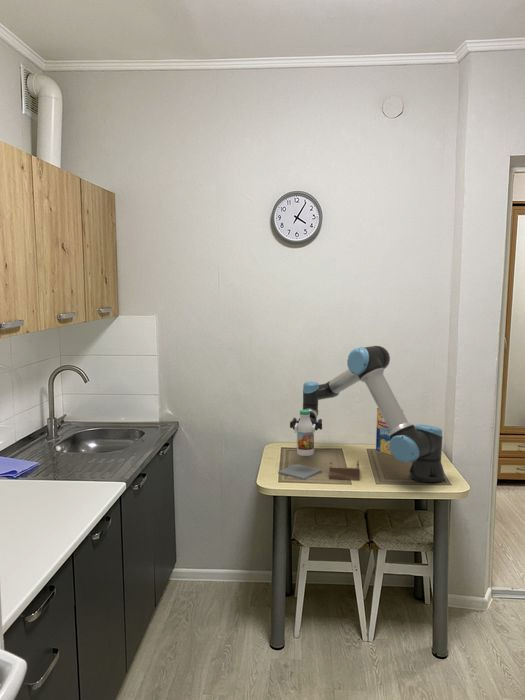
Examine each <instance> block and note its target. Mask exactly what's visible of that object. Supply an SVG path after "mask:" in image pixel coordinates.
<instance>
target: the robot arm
mask: <svg viewBox="0 0 525 700" xmlns="http://www.w3.org/2000/svg"><path fill="white" fill-rule="evenodd" d="M390 360H391V356H390V353H389V351H388V350H387V349H386V348H384V347H383V346H381V345H371V346H364V347H363V346H360V347H357V348H354V349H352V350H351V351H350V352H349V354H348V355H347V360H346V361H347V362H346V364H347V368H348V369H347V370H344V371H343V372H342V373H340V374H339V375H337V376H335V377H333V378H332V379H330V380H328V381H327V382H325V383H322V384H320V383H319V382H317V381H305V382H304V383H303V385H302V387H303V388H302V410H310V420H311V422H312V425H313V434H314V435H315V433H316V431H318V430H323V419H322V418H319V419H317V418H318V415H319V400H326V399H331V398H332V399H333V398H335V397H337V396H339V395H340V393H341V392H342V391H345V390H346V389H349V387H351V386H353V385H354V384H356V383H358V382H362V383H365V385H366V387H367V388H368V390H369V392H370V395H371V396H372V398H373V400H374V402H375V404H376V406H377V408H379V410H380V412H381V414H382V416H383V418H384V420H385V422H386V424H387V426H388V428H389V430H390V434H389V438H390V440H391V441H390V446H389V448H390V452H391V454H392V455H393V456H392V455H391V456H392V457H393V458H394V459H396V460H397V461H398V462H401V463H411V465H410V468H409V470H408V477H409V478H410V479H411V478H412V479H411V480H413V479H414V481H416V480H417V481H416V482H420V481H422V482H421V483H425V482H438V483H441V481H442V482H444V481H443V480H445V477H446V476H445V475H446V474H445V471H444V467H443V463H442V451H443V430H442V428H440V427H438V426H434V425H428V424H414V423H411V422H409V421H408V419H407V417H406V415H405V413H404V410H403V409H402V408H401V405H400V403H399V402H398V400H397V398H396V397H395V395H394V393H393V390H392V388H391V386H390V385H389V382H388V381H387V378H386V377H385V375H384V371H385V369H386V368H387V367H388V366H389V364H390ZM402 410H403V411H402ZM299 421H300V417H299V418H296V417H293V418H292V420H291V421H290V422H289V428H290V429H292V430H293V431H294V434H295V433H296V434H297V426H298V423H299Z"/></svg>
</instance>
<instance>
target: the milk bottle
mask: <svg viewBox="0 0 525 700" xmlns="http://www.w3.org/2000/svg"><path fill="white" fill-rule="evenodd" d="M299 416H300V417H299V418H300V421H299V423H298V426H297V432H296V454H297V455H299V456H302V457H306V456H307V457H309V456H313V455H314V453H315V436H314V435H315V433H314V434H313V425H312V422H311V420H310V410H303V409H300V410H299Z"/></svg>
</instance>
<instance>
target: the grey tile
mask: <svg viewBox="0 0 525 700" xmlns="http://www.w3.org/2000/svg"><path fill="white" fill-rule="evenodd" d="M321 472H322V469H318V468H314V467H310V466H305V465H302V464H298V463H295V464H293V465H290V466H287V467H286V468H285V467H284V468H283V469H281V470H278V471H277V473H278V474H279V473H280V475H283V476H288V477H291V478H294V479H298V478H299V480H302V479H303V480H304V481H305V480H307V479H309V478H311V477H313V476H315V475H318V474H319V473H321Z"/></svg>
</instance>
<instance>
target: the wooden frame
mask: <svg viewBox="0 0 525 700" xmlns="http://www.w3.org/2000/svg"><path fill="white" fill-rule="evenodd" d="M328 470H329V473H328V478H329V480H344V481H345V480H346V481H360V460H356V468H355V467H354V468H352V467H340V466H339V467H338V466H337V467H335V466H333V459H331V458H330V459H329V467H328Z"/></svg>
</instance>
